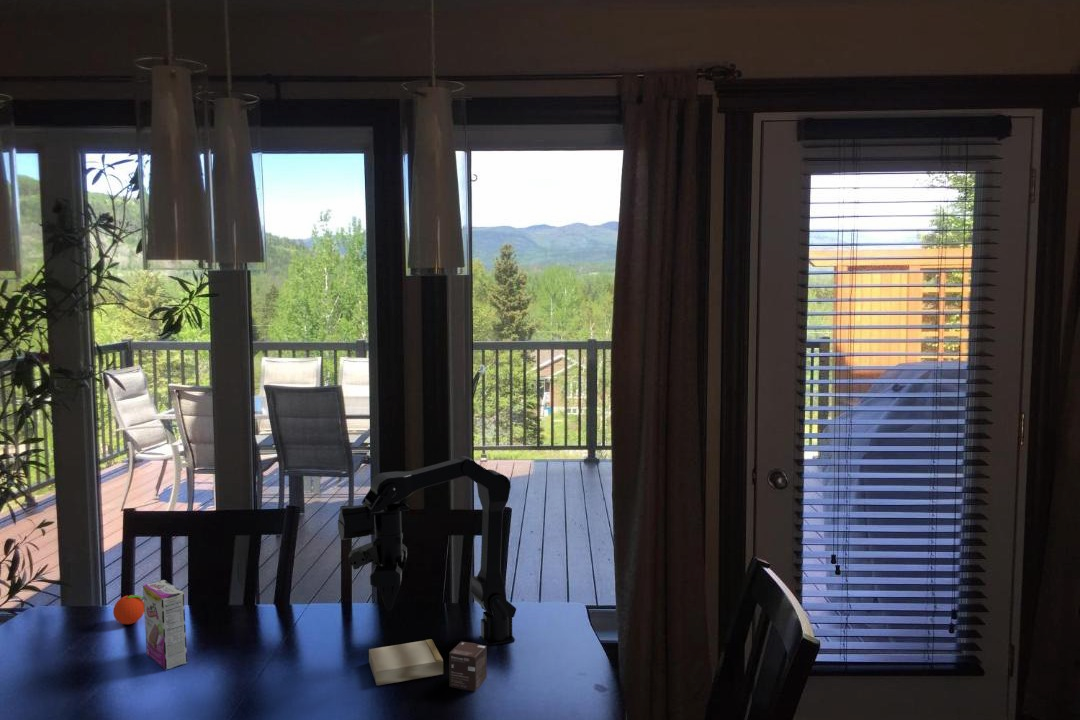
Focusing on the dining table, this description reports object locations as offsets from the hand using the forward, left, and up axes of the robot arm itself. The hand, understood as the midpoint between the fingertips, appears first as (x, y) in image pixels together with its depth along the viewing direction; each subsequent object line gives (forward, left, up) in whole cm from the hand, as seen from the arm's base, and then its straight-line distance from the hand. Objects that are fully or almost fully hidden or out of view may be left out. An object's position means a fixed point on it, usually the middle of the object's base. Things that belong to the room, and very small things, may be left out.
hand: (390, 601), depth 170 cm
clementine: (+57, -44, -14) cm, 73 cm away
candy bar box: (+47, -19, -14) cm, 52 cm away
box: (-13, +15, -14) cm, 24 cm away
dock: (-2, +4, -14) cm, 14 cm away
